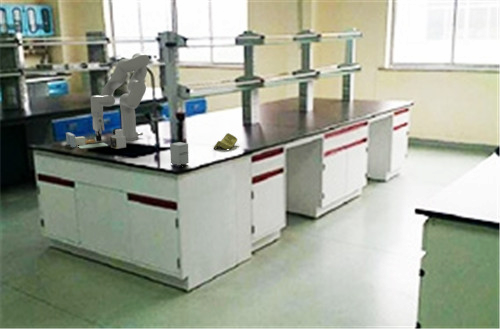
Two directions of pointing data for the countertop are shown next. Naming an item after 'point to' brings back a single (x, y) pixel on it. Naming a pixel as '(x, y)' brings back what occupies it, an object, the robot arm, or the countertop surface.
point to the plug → (83, 141)
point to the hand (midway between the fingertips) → (98, 140)
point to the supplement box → (179, 153)
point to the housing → (70, 139)
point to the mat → (92, 145)
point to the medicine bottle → (118, 139)
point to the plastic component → (227, 141)
